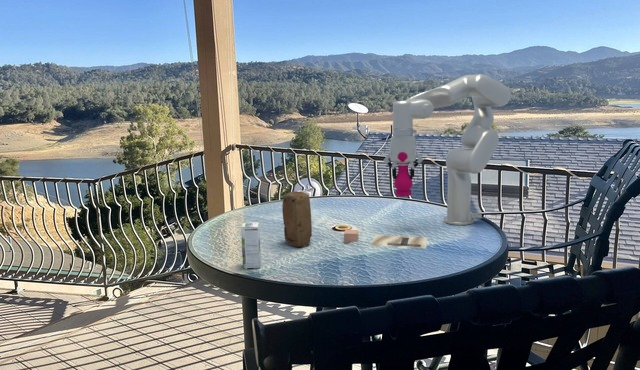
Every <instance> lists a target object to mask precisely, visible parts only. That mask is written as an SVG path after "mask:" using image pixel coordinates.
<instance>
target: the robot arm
mask: <svg viewBox="0 0 640 370" xmlns="http://www.w3.org/2000/svg"><path fill="white" fill-rule="evenodd" d="M469 97H471V99H472V104H473V109H474V114H473V116H472V118H471V120H470V122H469V124H468V125H467V127H466V129H465V130H464V132H463V134H462V136H461V139H460V143H461V145H462V146H463V147H464V148H463V147H457V148H456V147H455V148H452V149H450V150H449V151H448V152H447V154H446V157H445V166H446V173H447V201H446V203H447V204H446V205H447V207H446V208H447V209H446V213H447V214H446V216H444V217H443V219H442V220H443V222H444V223H445V224H449V225H455V226H467V225H472V224H474V222H475V219H477V220H479V219H482V218H483V217H482V213H477V212H476V213H475V212H474V213H473V212H472V210H471V206H472V205H471V202H472V201H471V198H472V196H471V195H472V179H471V174H480V173H481V172H483V170H485V168H486V167H487V165H488V164H489V161H490V160H491V158H492V157H493V155H494V153H495V151H497V150H496V149H497V148H498V146H499V142H500V141H499V139H500V137H499V134H498V133H499V132H497V130H496V129H494V128H492V126H493V124H494V118H495V117H494V113H493V110H492V107H494V108H495V107H498V108H499V107H504V106H505V105H507V104H508V103H509V102H510V99H511V91H510V90H509V87H507V86H506V85H505V84H504V83H501V82H499V81H497V80H496V79H494V78H492V77H490V76H488V75H486V74H482V73H479V74H466V75H463V76H460V77H458V78H456V79H454V80H452V81H450V82H448V83H445V84H443V85H440V86H438V87H434V88H433V89H432V88H431V89H429V90H426V91H423V92H420V93H417V94H415V95H413V96H410V97H409V98H406V99H405V100H397V101H396V100H395V101H394V102H393V104H392V136H391V137H390V145H389V153H388V154H387V155H386V156H385V158H384V159H383V162H385V164H386V165H388V167H389V168H390V169H391V172H392V173H391V175H392V178H393V180H395V179H396V176H397V168H396V165H397V162H401V161H400V160H399V159H398V154H399V153H400V152H405V153H406V154H407V156H408V158H407V159H406V160H405V161H404V162H409V165H410V169H409V175H410V179H412V180H413V178H414V177H415V169H416V168H417V167H418V165H420V164H421V163H422V162H423V161H424V158H423V157H422V156H421V155H420V154H419V153H418V151H417V142H416V136H415V134H417V129H414V126H413V125H414V124H413V123H414V121H413V120H414V119H415V120H416V119H417V120H420V119H421V120H424V119H427V118H430V117H431V115H433V113H434V109H438V108H445V107H450V106H453V105H454V104H456V103H458V102H461V101H462V100H464V99H467V98H469ZM416 160H417V161H416ZM414 162H415V163H414Z"/></svg>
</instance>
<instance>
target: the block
mask: <svg viewBox="0 0 640 370" xmlns="http://www.w3.org/2000/svg"><path fill="white" fill-rule="evenodd" d="M281 205H282V209H281V210H282V212H281V213H282V220H283V225H284V228H283V229H284V230H283V233H284V235H283V236H284V240H285V242H286V243H288V244H289V245H290V246H293V247H295V248H296V247H297V248H301V247H307V246H309V244H310V242H311V238H312V234H313V233H312V232H313V231H312V230H313V229H312V228H313V227H312V211H311V200H310V194H309V195H308V194H307V193H304V192H298V190H295V191H290V192H288V193H286V194H285V195H284V197H283V199H282V204H281Z"/></svg>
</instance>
